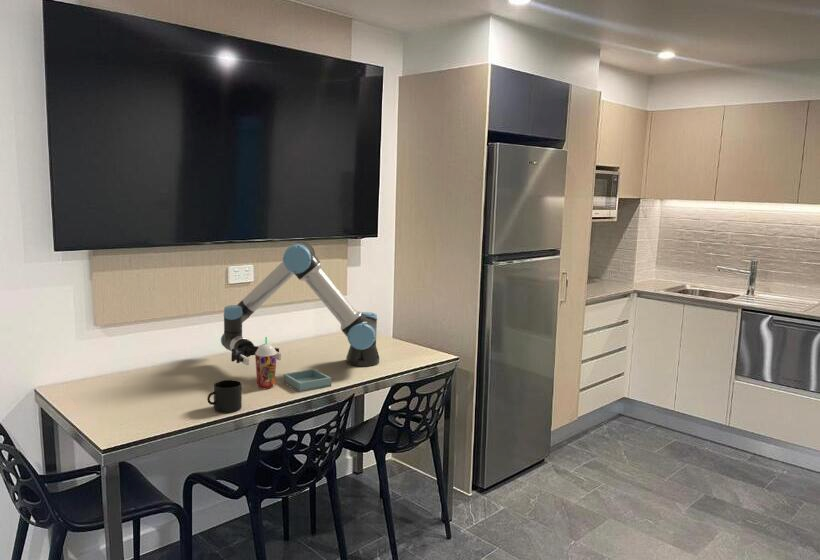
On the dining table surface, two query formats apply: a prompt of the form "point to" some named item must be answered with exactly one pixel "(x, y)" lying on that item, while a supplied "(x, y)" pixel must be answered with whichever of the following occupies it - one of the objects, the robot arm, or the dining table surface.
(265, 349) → the smoothie
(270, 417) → the dining table surface
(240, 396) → the mug
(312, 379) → the bin
